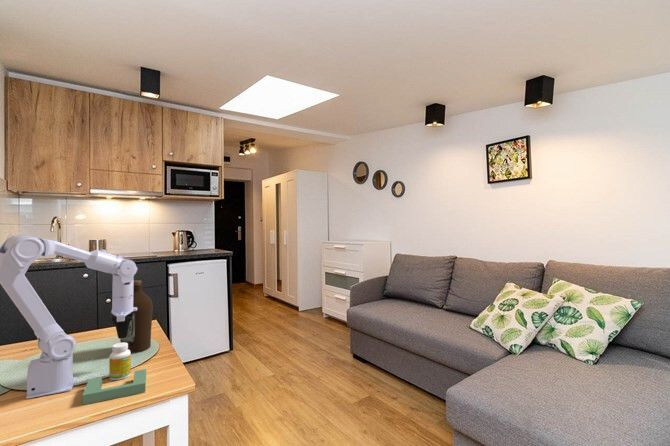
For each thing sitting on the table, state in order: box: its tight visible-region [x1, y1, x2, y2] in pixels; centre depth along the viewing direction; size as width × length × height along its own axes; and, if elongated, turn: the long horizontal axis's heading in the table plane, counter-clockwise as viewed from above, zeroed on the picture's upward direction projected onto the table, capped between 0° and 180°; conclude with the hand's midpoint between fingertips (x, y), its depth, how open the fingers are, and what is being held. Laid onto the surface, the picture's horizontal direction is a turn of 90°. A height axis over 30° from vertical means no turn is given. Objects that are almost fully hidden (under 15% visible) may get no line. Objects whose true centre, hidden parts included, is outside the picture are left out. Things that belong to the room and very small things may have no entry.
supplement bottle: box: [108, 342, 132, 381], centre depth 99 cm, size 5×5×10 cm
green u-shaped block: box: [81, 368, 147, 406], centre depth 91 cm, size 14×10×2 cm
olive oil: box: [119, 279, 154, 354], centre depth 120 cm, size 11×11×25 cm
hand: (122, 337), depth 105 cm, fingers closed
